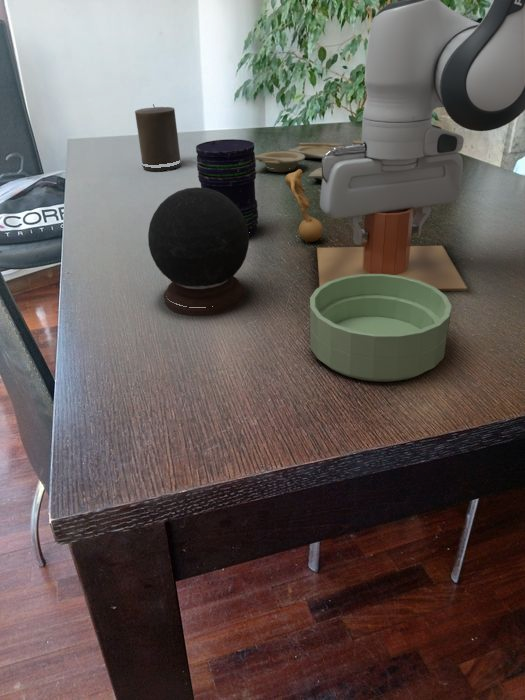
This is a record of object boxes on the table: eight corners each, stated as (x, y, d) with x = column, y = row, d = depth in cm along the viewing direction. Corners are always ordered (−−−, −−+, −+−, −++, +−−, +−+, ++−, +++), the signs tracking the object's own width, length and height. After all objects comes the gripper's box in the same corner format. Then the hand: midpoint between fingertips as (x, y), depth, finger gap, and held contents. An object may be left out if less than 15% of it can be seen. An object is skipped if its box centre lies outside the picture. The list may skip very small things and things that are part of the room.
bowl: (429, 316, 72) (435, 272, 69) (458, 385, 59) (466, 335, 56) (309, 317, 73) (309, 274, 70) (310, 385, 60) (311, 336, 57)
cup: (403, 257, 88) (409, 199, 83) (411, 274, 82) (417, 213, 77) (360, 258, 88) (363, 200, 83) (364, 275, 82) (368, 214, 78)
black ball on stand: (137, 300, 79) (119, 193, 71) (206, 270, 87) (197, 170, 79) (202, 329, 71) (189, 212, 64) (271, 292, 80) (267, 185, 72)
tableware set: (356, 190, 121) (357, 170, 119) (239, 177, 134) (238, 159, 132) (407, 154, 146) (409, 138, 144) (305, 146, 159) (305, 131, 157)
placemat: (442, 247, 91) (442, 245, 91) (466, 290, 78) (467, 288, 77) (317, 249, 93) (317, 247, 92) (319, 292, 79) (319, 289, 79)
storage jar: (270, 231, 101) (267, 143, 93) (229, 246, 95) (222, 154, 88) (233, 219, 107) (227, 136, 100) (192, 233, 102) (182, 146, 94)
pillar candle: (164, 173, 140) (156, 107, 132) (135, 169, 144) (125, 106, 137) (189, 164, 147) (182, 101, 139) (160, 161, 151) (152, 100, 144)
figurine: (321, 250, 92) (322, 175, 86) (284, 250, 93) (283, 176, 87) (323, 232, 99) (324, 162, 93) (288, 232, 100) (287, 163, 94)
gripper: (331, 152, 71) (329, 257, 78) (475, 136, 75) (460, 236, 82) (313, 143, 76) (312, 241, 83) (448, 128, 80) (436, 223, 88)
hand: (387, 239), depth 83 cm, fingers open, 7 cm apart
